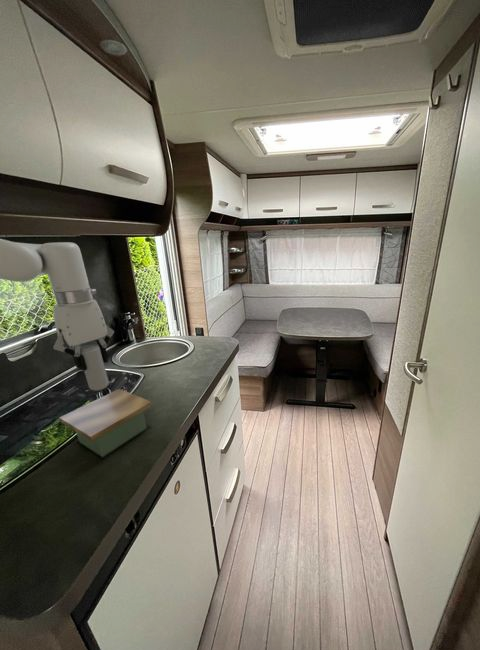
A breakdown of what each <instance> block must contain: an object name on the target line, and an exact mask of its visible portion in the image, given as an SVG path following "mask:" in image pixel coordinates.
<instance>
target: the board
mask: <svg viewBox="0 0 480 650" xmlns="http://www.w3.org/2000/svg"><path fill="white" fill-rule="evenodd" d="M151 407H153V403H152V401H150V400H148V399H145V398H143V397H140V396H139V395H136V394H133V393H131V392H128V391H125V390H123V389H121V388H118V389H116V390H113V391H111V392H109V393H107V394H106V395H103V396H101V397H99V398H97V399H95V400H93V401H91V402H89V403H87V404H84V405H82V406H80V407H78V408H76V409H74V410H72V411H70V412H68V413H66V414H64V415H61V416H59V417H58V419H59V421H60V423H62V425H65V426H66V427H68V428H70V429H71V430H73V431H74V432H75V433H76V432H78V433H79V434H81V435H82V436H84V437H86V438H87V439H89V440H91V441H94V440H96V439H97V438H99V437H101V436H102V435H104V434H106V433H108V432H109V431H111V430H113V429H114V428H116V427H118V426H119V425H121V424H123V423H124V422H126V421H128V420H129V419H131V418H133V417H135V416H136V415H138V414H140V413H141V412H143V413H144V412H145V411H146V410H148V409H150V408H151Z"/></svg>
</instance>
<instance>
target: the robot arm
mask: <svg viewBox="0 0 480 650" xmlns="http://www.w3.org/2000/svg"><path fill="white" fill-rule="evenodd" d="M45 275H47V276H48V280H49V283H50V286H51V291H52V292H53V297H54V299H55V302H56V304H54V305H52V310H53V319H54V325H55V330H56V334H57V338H56V339H55V342H54V345H53V350H55V351H58V352H62V353H64V354H67V355H71V356H72V359H73V362H74V365H75V368H77V369H79V370H81V371H83V372H84V371H85V370H86V369H87V367H86V364H85V360H84V357H83V356H82V355H81V354H80V346H81V345H84V344H88V343H90V342H93V341H94V343H96V344H98V346H99V347H100V351H101V354H102V358H103V362H104V364H106V363H109V362H108V361H109V360H108V356H109V355H108V353H107V352H108V351H107V347H108V343H109V341H110V340H111V338H112V336H113V335H114V334H115V330H114V329H113V328H111V327H110V326H109V325H107V324H106V321H105V320H106V319H105V317H104V315H103V312H102V310H101V308H100V306H99V303H98V302H97V300H96V299H94V295H97V289H96V288H91V286H90V282H89V279H88V275H87V271H86V267H85V262H84V259H83V255H82V252H81V248H80V247H79V245H78V244H77V243H75V242H70V241H66V242H65V241H62V242H61V241H58V242H45V243H42V244H41V243H26V242H16V241H12V240H11V241H10V240H8V239H4V238H0V280H4V281H9V282H10V281H11V282H15V283H16V282H17V283H23V282H24V283H26V282H31V281H32V280H34V279H36V278H38V277H40V276H45ZM64 344H65V345H66V344H67V345H68V346H69V347H66V346H64Z"/></svg>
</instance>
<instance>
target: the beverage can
mask: <svg viewBox="0 0 480 650" xmlns="http://www.w3.org/2000/svg"><path fill="white" fill-rule="evenodd" d="M80 354H81V355H82V356H83V357H84V360H85V364H86V367H87V369H86V370H85V371H83V372H84V375H85V378H86V382H87V385H88V388H89V389H90V390H91V391H96V392H97V391H102V390H104V389H106V388H107V387H108V386H109V385H110V382H109V377H108V373H107V370H106V366H105V362H103V358H102V354H101V351H100V347H99V346H98V344H96V343H95V342H92V343H90V342H89V343H84V344H81V345H80Z"/></svg>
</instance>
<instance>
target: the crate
mask: <svg viewBox="0 0 480 650" xmlns="http://www.w3.org/2000/svg"><path fill="white" fill-rule="evenodd" d="M147 429H148V426H147V423H146V419H145V415H144V411H143V412H141V413H140V414H138V415H136V416H135V417H133V418H131V419H129V420H128V421H126V422H124V423H123V424H121V425H119V426H118V427H116V428H114V429H113V430H111V431H109V432H108V433H106V434H104V435H102V436H101V437H99V438H97V439H96V440H94V441H91V440H89V439H87V438H86V437H84V436H82V435H81V434H79V433H78V432H76V431H75V433H76V434H75V435H76V436H77V439H78V443H80V444H81V445H83V446H84V447H86V448H87V449H89V451H92V452H94V453H95V454H96V455H98V456H100V457H101V458H104V457H106V456H107V455H109V454H110V453H112V452H114V450H116V449H118V448H120V447H121V446H122V445H125V444H126V443H127V442H128V441H130V440H132V439H133V438H134V437H136V436H138V435H139V434H141V433H142V432H144V431H146V430H147Z"/></svg>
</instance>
